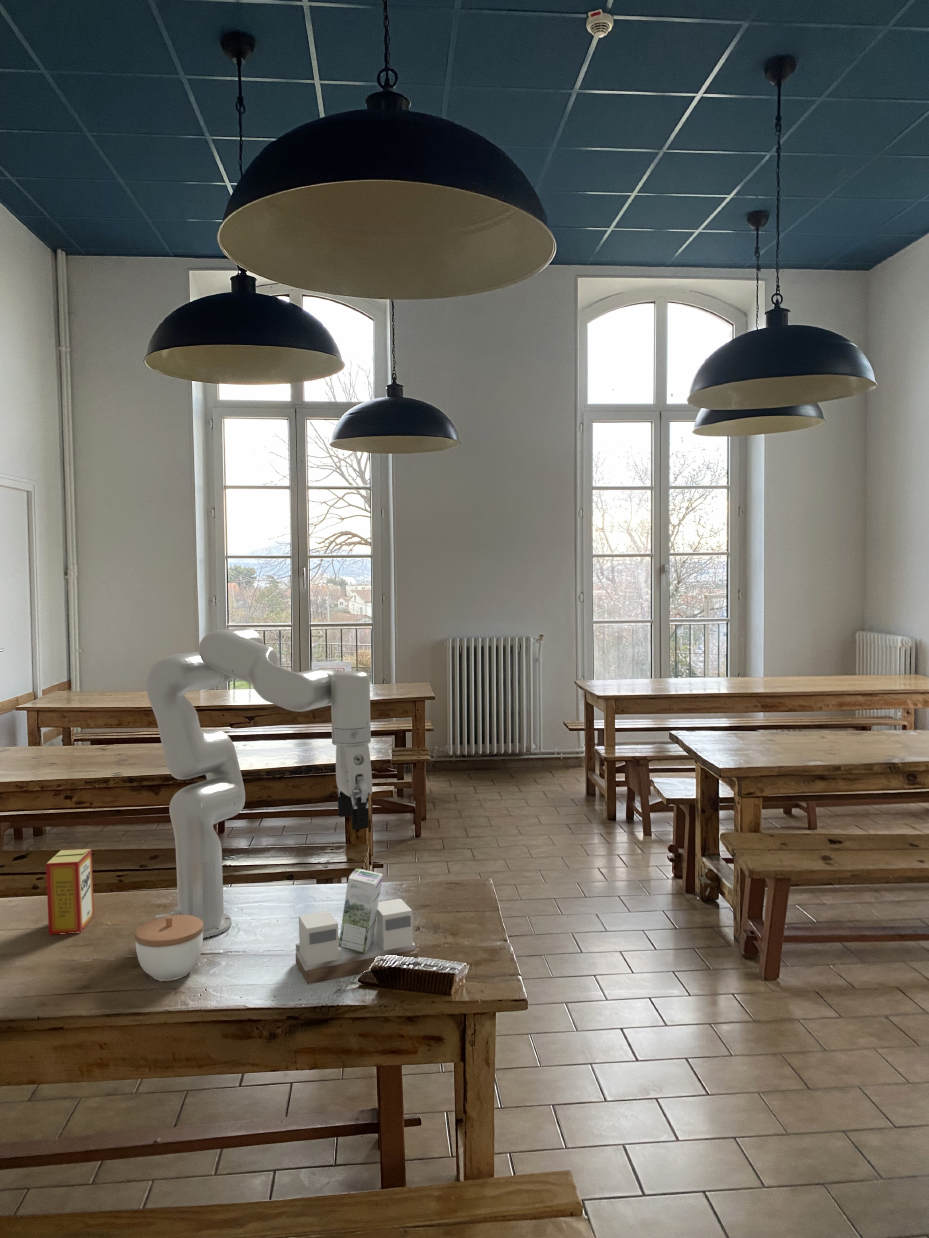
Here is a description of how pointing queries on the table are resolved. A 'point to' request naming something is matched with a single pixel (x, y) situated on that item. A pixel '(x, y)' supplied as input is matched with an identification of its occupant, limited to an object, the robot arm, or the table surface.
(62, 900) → the baking soda box
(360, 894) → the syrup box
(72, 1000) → the table surface
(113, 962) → the table surface
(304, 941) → the mounted modules
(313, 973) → the rail board
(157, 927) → the lidded bowl
